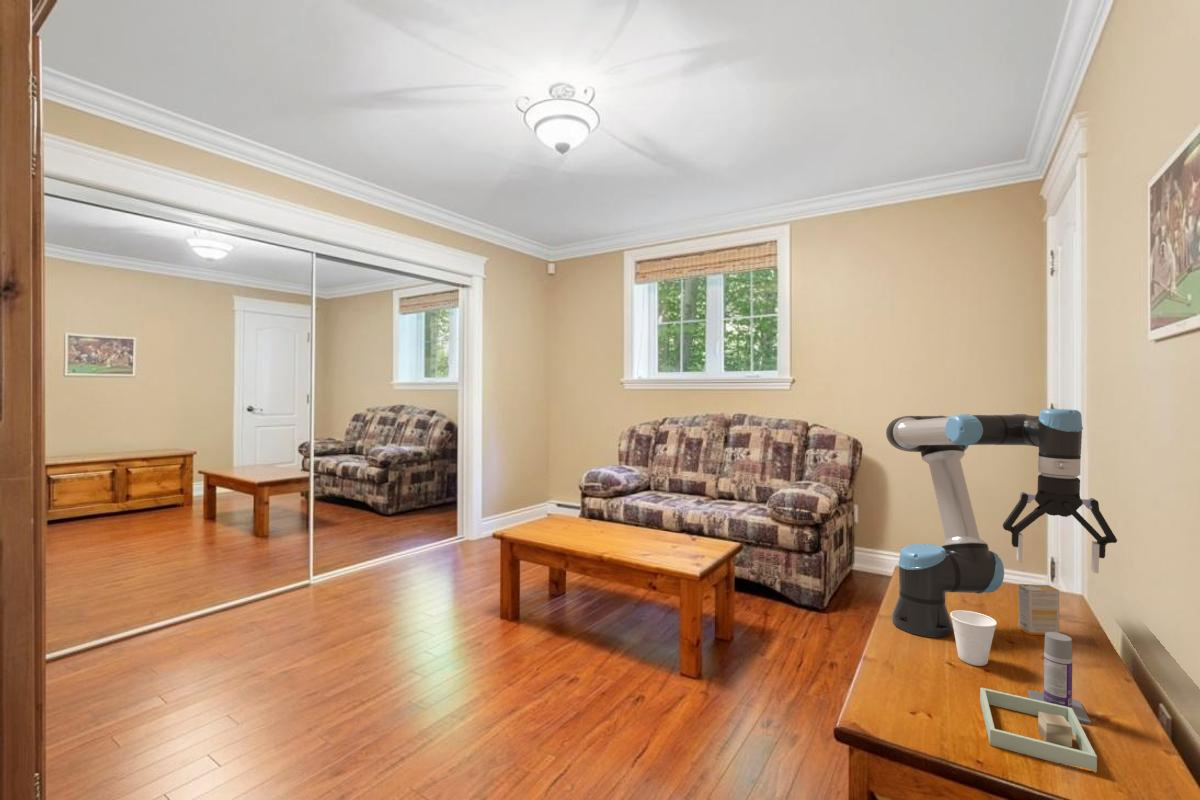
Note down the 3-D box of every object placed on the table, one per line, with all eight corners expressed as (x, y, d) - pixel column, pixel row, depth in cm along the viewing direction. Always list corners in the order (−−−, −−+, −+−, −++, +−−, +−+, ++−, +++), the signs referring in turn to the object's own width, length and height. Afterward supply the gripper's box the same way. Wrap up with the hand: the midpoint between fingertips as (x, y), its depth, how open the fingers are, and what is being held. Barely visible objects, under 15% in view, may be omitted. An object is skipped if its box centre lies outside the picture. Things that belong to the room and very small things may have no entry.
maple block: (1046, 743, 105) (1046, 722, 105) (1038, 731, 109) (1038, 711, 109) (1071, 748, 104) (1072, 727, 104) (1062, 735, 108) (1062, 715, 108)
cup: (988, 654, 141) (989, 613, 141) (1003, 673, 132) (1003, 628, 132) (944, 648, 144) (945, 608, 144) (955, 666, 135) (956, 622, 135)
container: (1057, 698, 120) (1058, 631, 120) (1077, 710, 115) (1078, 640, 115) (1037, 699, 119) (1038, 631, 119) (1057, 711, 115) (1058, 641, 115)
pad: (1035, 712, 116) (1035, 709, 116) (1027, 692, 123) (1027, 689, 123) (1091, 725, 111) (1091, 722, 111) (1079, 703, 119) (1079, 700, 119)
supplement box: (1047, 629, 157) (1048, 584, 157) (1060, 636, 152) (1060, 590, 152) (1017, 627, 158) (1017, 583, 158) (1028, 635, 153) (1029, 589, 153)
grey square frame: (990, 745, 105) (990, 729, 105) (980, 700, 120) (980, 687, 120) (1096, 773, 97) (1096, 756, 97) (1071, 722, 112) (1071, 707, 112)
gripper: (993, 472, 129) (991, 560, 130) (1137, 483, 116) (1134, 581, 116) (991, 468, 135) (989, 552, 136) (1127, 478, 122) (1123, 571, 123)
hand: (1056, 566), depth 126 cm, fingers open, 13 cm apart
